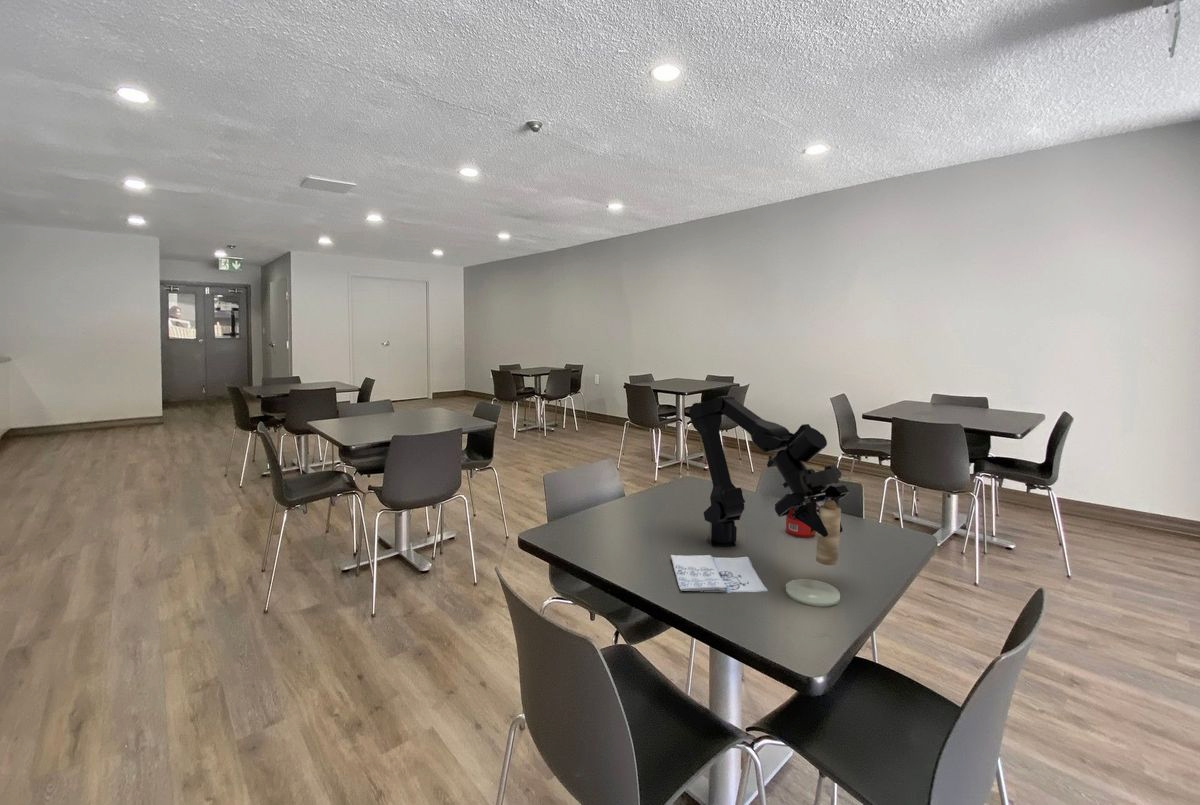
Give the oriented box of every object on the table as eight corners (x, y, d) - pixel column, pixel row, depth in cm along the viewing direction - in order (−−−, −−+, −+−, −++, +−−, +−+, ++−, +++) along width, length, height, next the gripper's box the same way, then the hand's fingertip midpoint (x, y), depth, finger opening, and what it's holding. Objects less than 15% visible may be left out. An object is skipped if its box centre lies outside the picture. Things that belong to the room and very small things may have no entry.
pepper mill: (816, 563, 117) (820, 501, 115) (815, 556, 121) (818, 495, 120) (838, 566, 116) (842, 503, 114) (836, 558, 120) (840, 497, 118)
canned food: (817, 539, 150) (819, 500, 149) (787, 537, 152) (789, 499, 151) (812, 529, 158) (814, 493, 157) (784, 527, 159) (785, 491, 158)
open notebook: (670, 560, 137) (670, 552, 137) (750, 561, 136) (750, 553, 136) (678, 595, 118) (678, 586, 118) (771, 597, 117) (772, 587, 117)
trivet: (795, 606, 112) (795, 601, 112) (779, 582, 123) (779, 578, 123) (848, 607, 112) (849, 602, 112) (828, 583, 123) (828, 579, 123)
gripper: (787, 457, 114) (829, 523, 106) (844, 449, 124) (887, 509, 115) (758, 485, 122) (795, 548, 114) (813, 475, 131) (851, 533, 123)
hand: (833, 534), depth 116 cm, fingers closed on pepper mill, 4 cm apart
